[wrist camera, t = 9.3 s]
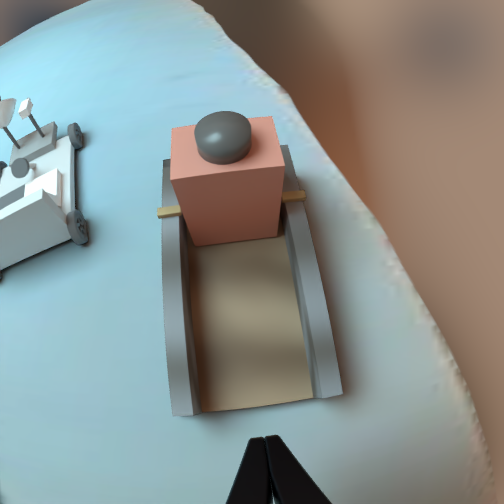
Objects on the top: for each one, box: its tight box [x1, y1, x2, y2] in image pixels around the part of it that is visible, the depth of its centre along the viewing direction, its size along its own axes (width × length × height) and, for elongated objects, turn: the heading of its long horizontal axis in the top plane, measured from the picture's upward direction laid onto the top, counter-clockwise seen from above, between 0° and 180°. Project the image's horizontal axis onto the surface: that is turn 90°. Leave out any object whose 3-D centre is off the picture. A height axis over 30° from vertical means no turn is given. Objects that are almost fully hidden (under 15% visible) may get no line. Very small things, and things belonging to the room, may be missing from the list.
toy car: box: [0, 98, 88, 279], centre depth 24 cm, size 18×10×12 cm
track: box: [157, 145, 343, 416], centre depth 21 cm, size 18×11×4 cm, turn 8°
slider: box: [170, 111, 285, 247], centre depth 20 cm, size 4×6×9 cm, turn 98°
